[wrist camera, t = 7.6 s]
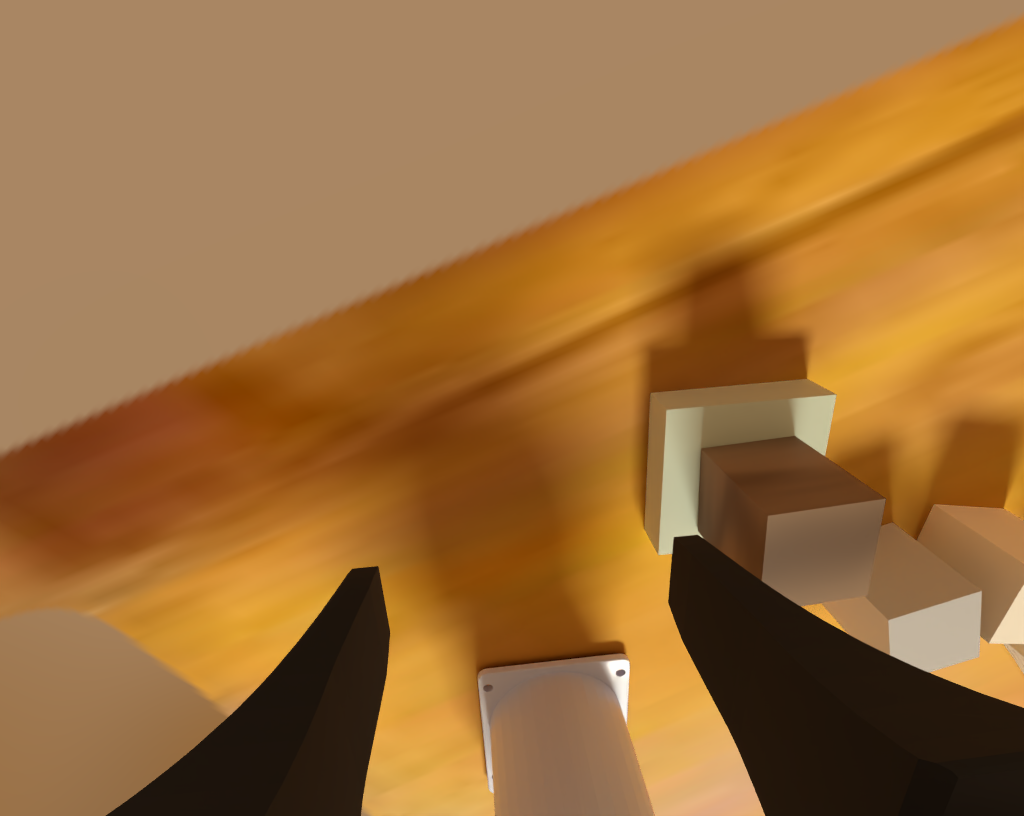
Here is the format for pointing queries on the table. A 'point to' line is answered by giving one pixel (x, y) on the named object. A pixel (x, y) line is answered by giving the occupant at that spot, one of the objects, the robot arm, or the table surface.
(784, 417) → the sage slab
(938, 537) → the cream block
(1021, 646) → the supplement box
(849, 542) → the walnut block
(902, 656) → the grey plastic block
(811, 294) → the table surface
